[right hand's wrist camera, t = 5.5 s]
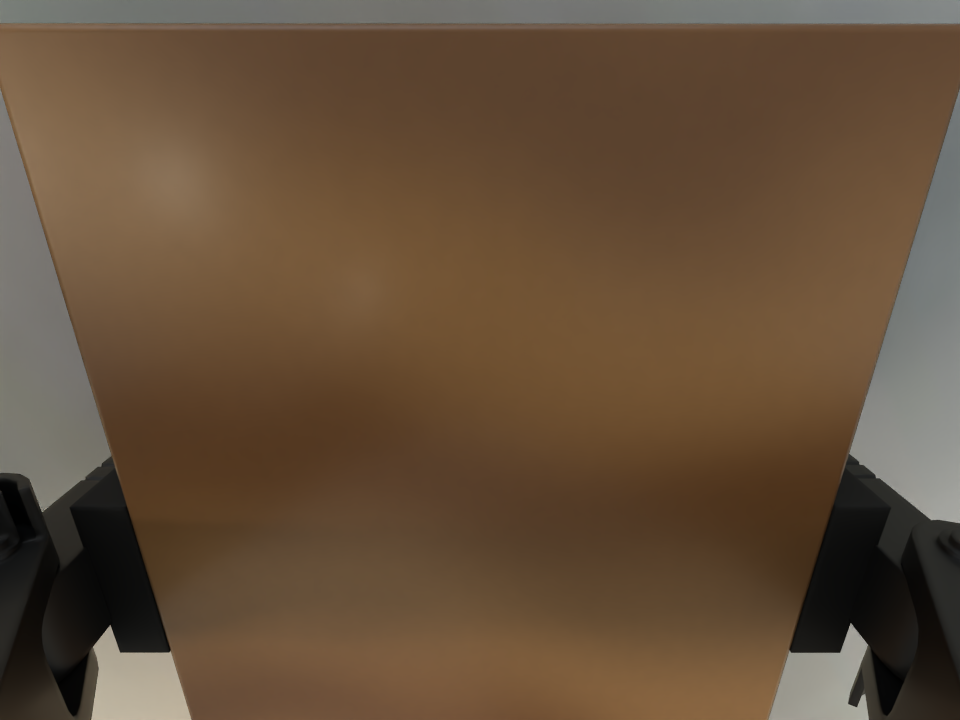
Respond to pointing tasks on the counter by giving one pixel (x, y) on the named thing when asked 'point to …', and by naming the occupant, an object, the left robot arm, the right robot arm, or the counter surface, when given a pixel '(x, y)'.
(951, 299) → the counter surface
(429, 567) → the wooden beam
